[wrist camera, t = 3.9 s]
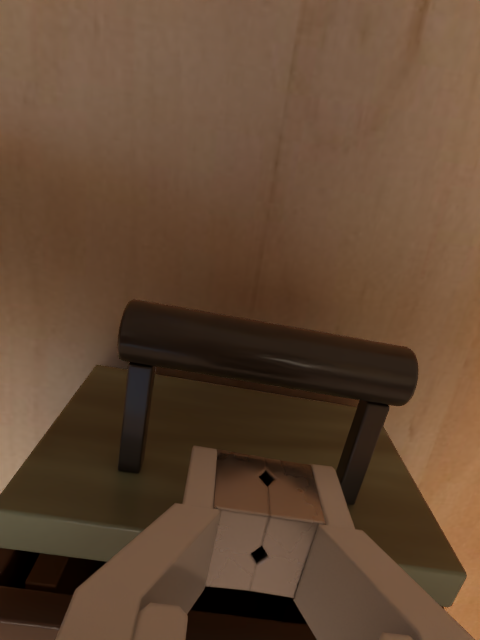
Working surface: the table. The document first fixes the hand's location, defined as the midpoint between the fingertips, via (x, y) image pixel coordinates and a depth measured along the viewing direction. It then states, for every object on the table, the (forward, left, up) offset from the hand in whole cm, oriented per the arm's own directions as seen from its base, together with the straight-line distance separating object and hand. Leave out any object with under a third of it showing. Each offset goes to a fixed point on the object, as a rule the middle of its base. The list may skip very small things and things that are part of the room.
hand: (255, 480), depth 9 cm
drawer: (+6, 0, -7) cm, 10 cm away
